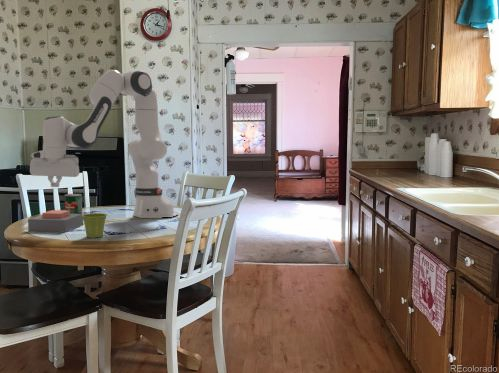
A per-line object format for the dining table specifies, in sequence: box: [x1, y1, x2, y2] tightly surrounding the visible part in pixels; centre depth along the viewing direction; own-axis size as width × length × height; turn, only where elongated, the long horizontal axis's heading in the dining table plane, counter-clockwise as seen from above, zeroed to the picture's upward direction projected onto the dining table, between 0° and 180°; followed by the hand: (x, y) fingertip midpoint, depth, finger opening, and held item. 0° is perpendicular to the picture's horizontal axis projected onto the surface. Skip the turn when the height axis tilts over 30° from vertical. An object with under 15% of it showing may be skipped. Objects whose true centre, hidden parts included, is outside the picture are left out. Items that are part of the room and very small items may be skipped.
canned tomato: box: [64, 193, 83, 214], centre depth 220 cm, size 8×8×11 cm
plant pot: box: [82, 212, 108, 239], centre depth 176 cm, size 9×9×9 cm
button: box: [41, 209, 70, 218], centre depth 192 cm, size 8×8×4 cm
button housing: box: [27, 213, 84, 233], centre depth 192 cm, size 16×16×5 cm
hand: (55, 186), depth 190 cm, fingers closed
